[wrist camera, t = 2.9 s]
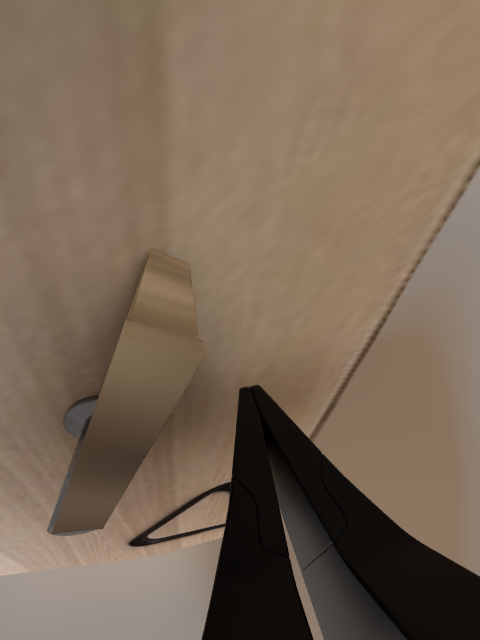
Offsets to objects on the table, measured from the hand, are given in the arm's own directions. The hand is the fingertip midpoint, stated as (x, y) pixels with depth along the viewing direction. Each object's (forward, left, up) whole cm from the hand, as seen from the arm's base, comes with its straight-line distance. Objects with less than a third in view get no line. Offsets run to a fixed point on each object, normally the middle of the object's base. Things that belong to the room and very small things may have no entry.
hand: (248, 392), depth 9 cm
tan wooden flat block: (+4, -3, -4) cm, 6 cm away
